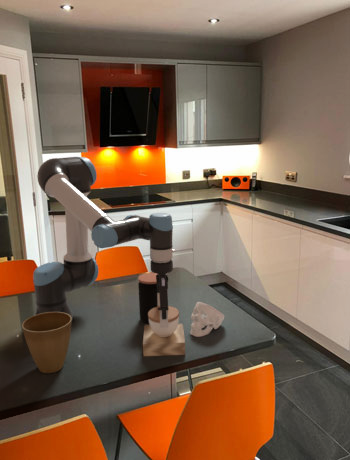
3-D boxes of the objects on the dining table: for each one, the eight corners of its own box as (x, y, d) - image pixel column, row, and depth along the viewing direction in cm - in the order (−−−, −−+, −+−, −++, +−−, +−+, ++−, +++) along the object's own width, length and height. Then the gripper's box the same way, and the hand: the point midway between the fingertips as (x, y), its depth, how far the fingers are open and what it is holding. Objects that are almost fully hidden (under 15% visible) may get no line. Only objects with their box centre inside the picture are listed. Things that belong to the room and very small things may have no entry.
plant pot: (78, 374, 125) (73, 326, 121) (27, 384, 120) (21, 335, 117) (73, 351, 139) (69, 308, 135) (27, 359, 134) (22, 315, 130)
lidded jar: (146, 340, 136) (144, 315, 134) (152, 324, 146) (150, 300, 144) (177, 341, 135) (176, 316, 132) (181, 325, 145) (180, 301, 142)
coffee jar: (170, 315, 165) (169, 273, 161) (160, 327, 155) (159, 282, 151) (146, 312, 168) (144, 271, 164) (135, 323, 158) (133, 280, 154)
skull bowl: (178, 329, 150) (190, 298, 152) (200, 337, 159) (210, 307, 161) (199, 338, 142) (211, 305, 144) (220, 345, 152) (231, 314, 154)
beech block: (143, 357, 135) (142, 344, 133) (145, 337, 148) (144, 325, 147) (185, 356, 135) (184, 342, 134) (183, 336, 149) (182, 323, 148)
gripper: (176, 271, 123) (177, 334, 128) (169, 248, 147) (170, 302, 152) (151, 272, 122) (153, 336, 127) (149, 249, 146) (150, 303, 151)
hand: (162, 318), depth 139 cm, fingers open, 13 cm apart
